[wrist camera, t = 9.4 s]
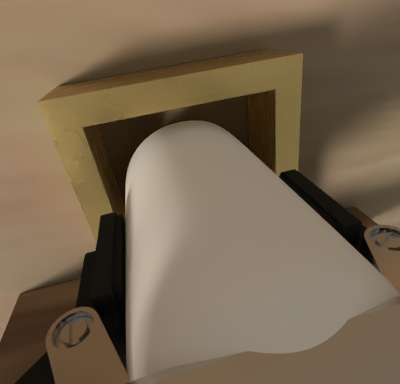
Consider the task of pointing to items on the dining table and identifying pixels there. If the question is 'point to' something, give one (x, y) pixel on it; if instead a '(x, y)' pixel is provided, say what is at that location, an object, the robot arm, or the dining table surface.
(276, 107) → the brass keeper
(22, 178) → the dining table surface
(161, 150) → the can
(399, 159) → the dining table surface
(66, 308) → the brown wooden plank
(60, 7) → the dining table surface
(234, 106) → the dining table surface
